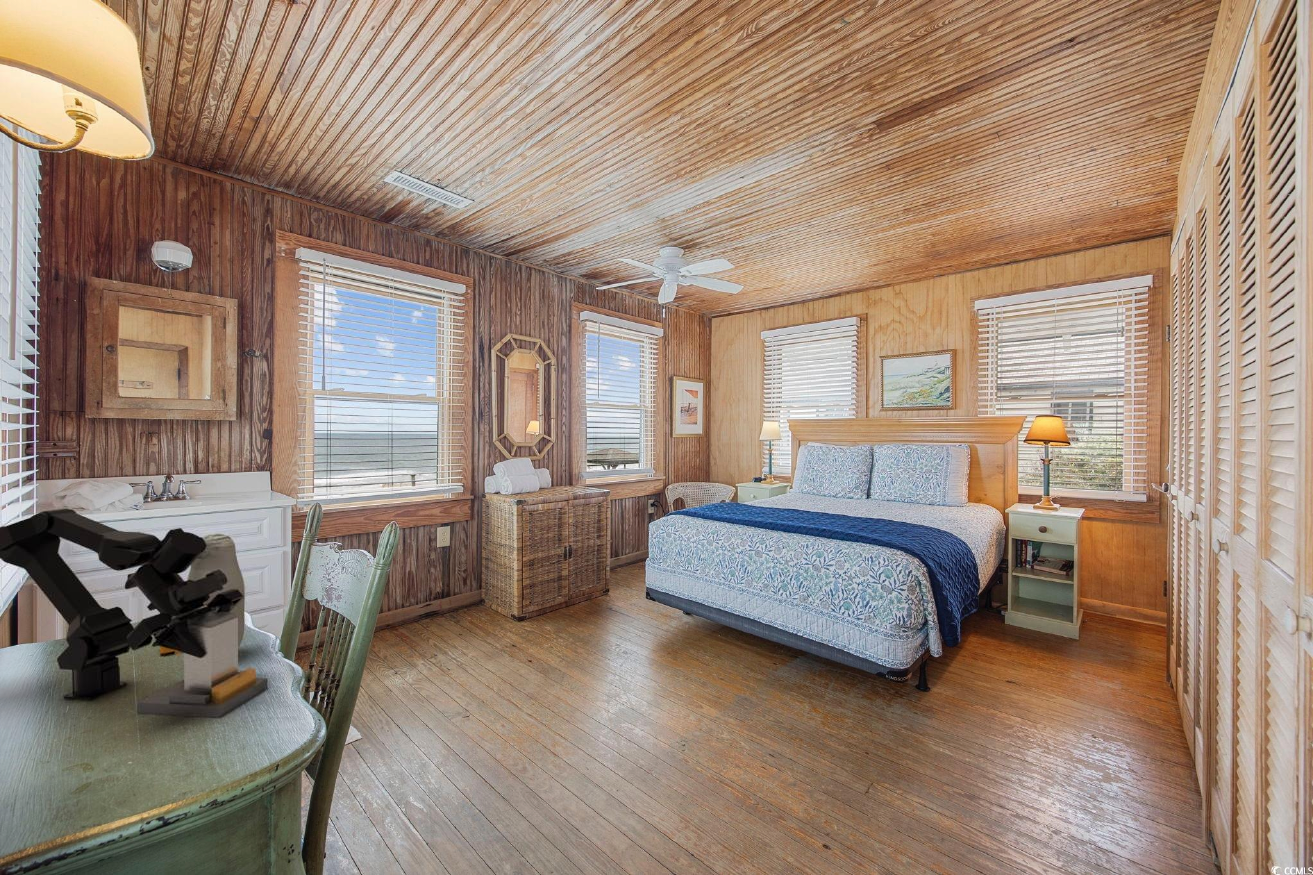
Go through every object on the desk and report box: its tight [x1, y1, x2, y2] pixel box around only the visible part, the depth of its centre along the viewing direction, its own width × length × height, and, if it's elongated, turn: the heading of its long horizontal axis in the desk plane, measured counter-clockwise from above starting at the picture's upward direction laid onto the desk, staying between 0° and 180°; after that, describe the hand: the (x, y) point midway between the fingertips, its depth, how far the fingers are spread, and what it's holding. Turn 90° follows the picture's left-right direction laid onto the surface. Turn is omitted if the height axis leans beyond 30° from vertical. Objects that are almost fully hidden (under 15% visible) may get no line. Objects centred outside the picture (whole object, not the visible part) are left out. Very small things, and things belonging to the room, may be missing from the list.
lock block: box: [183, 611, 239, 692], centre depth 103 cm, size 6×6×13 cm
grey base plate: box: [136, 668, 268, 718], centre depth 104 cm, size 16×11×4 cm
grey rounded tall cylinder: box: [186, 533, 246, 648], centre depth 121 cm, size 10×10×28 cm
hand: (217, 649), depth 103 cm, fingers closed on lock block, 5 cm apart
